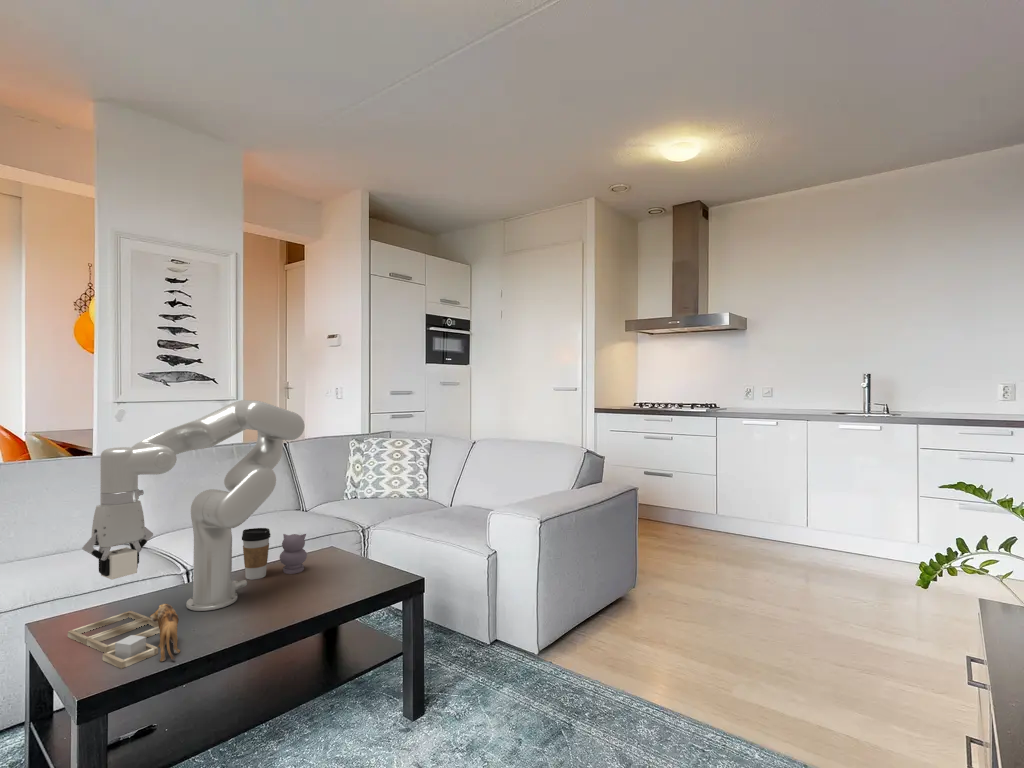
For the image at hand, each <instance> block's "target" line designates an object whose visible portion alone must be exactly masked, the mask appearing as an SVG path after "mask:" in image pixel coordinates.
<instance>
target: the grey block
mask: <svg viewBox="0 0 1024 768" xmlns="http://www.w3.org/2000/svg"><path fill="white" fill-rule="evenodd" d="M115 642H116V643H115ZM115 642H114V643H115V656H116V657H118V658H120V659H123V660H124V659H127V658H129V657H132V656H134V655H137V654H139V653H142V652H144V651H146V643H147V638H146V637H144V636H136V634H131V635H129V636H127V637H125V638H122V639H120V640H118V641H115Z"/></svg>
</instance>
